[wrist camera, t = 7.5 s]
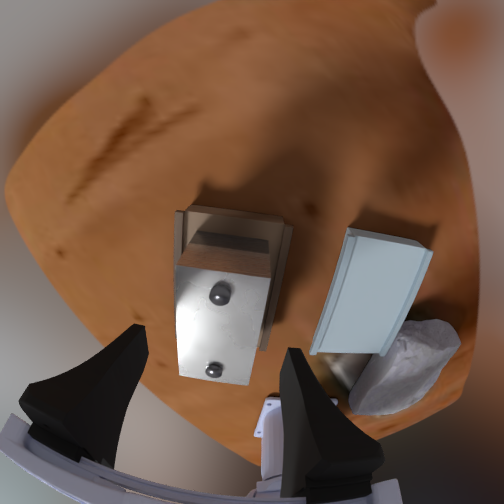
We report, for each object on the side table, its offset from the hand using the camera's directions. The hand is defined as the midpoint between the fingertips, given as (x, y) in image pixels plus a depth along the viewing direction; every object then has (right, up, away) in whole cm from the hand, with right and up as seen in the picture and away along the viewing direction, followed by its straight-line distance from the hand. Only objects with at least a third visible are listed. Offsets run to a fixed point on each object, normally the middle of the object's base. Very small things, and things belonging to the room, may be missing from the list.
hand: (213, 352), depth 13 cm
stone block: (+18, -6, +11) cm, 22 cm away
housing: (0, +2, +5) cm, 6 cm away
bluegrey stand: (+11, +2, +7) cm, 13 cm away
